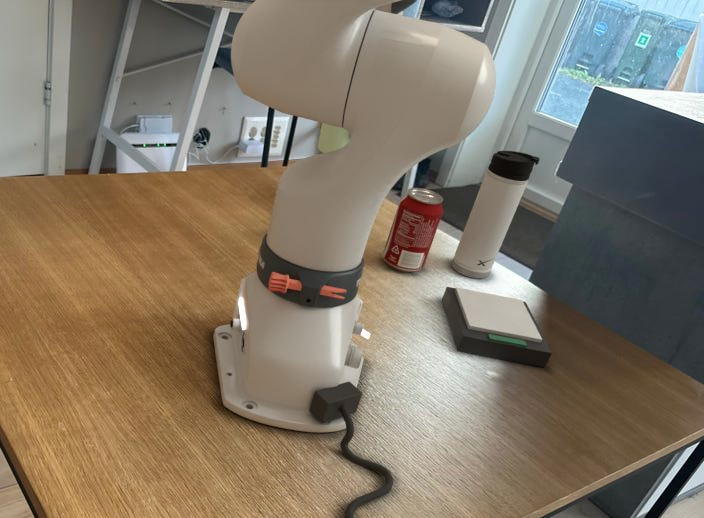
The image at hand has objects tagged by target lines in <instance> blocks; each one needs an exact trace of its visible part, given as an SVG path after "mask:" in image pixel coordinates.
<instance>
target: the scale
mask: <svg viewBox="0 0 704 518" xmlns="http://www.w3.org/2000/svg"><path fill="white" fill-rule="evenodd" d="M441 303H442V306H443V309H444V312H445V313H444V314H445V316H446V318H447V319H446V320H447V322H448V326H449V328H450V329H449V330H450V331H451V334H452V338H453V341H454V345H455V347H456V350H457V352H462V353H468V354H473V355H477V356H484V357H488V358H494V359H499V360H504V361H509V362H514V363H520V364H523V365H524V364H525V365H531V366H536V367H540V368H541V367H542V368H546V366H547V364H548V363H549V360H550V358H551V356H552V354H553V351H552V350H551V348H550V345H549V344H548V342H547V340H546V339H545V336H544V335H543V333H542V331H541V328H540V326H539V325H538V322H537V321H536V319H535V317H534V315H533V314H532V311H531V309H530V308H529V305H528V304H527V302H526V301H523V299H518V298H513V297H509V296H503V295H498V294H493V293H487V292H483V291H477V290H472V289H466V288H463V287H462V288H461V287H450V286H446V287H445V290H444V292H443V295H442V298H441Z"/></svg>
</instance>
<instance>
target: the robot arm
mask: <svg viewBox="0 0 704 518" xmlns="http://www.w3.org/2000/svg"><path fill="white" fill-rule="evenodd" d="M417 1H418V0H254V2H252V3H251V4H250V5H249V7H247V9H246V10H245V11H244V13H243V14H242V16H241V17H240V18H239V21H238V22H237V24H236V26H235V29H234V32H233V36H232V41H231V46H230V63H231V69H232V72H233V76H234V80H235V82H236V85H237V86H238V88H239V90H240V91H241V93H242V94H243V95H245V96H246V97H248V98H251V100H252V99H253V100H254V101H256V102H258V103H260V104H262V105H265V106H266V107H269V108H271V109H272V110H275V111H277V112H279V113H282V114H285V115H289V116H293V117H297V118H301V119H306V120H310V121H314V122H317V126H316V127H317V129H320V130H321V126H322V123H325V124H329V125H333V126H337V127H341V128H343V129H345V130H348V131H349V132H350V134H349V138H350V141H349V143H348V144H346V145H345V146H344V147H342V148H340V149H338V150H335V151H331V152H327V153H323V152H321V153H318V154H317V153H316V154H313V155H310V156H306V157H304V158H302V159H299V160H296V161H295V162H294V163H292V164H291V165H289V166H288V167H287V168H286V169H285V170H284V172H283V173H282V174H281V175H280V178H279V180H278V182H277V186H276V192H275V194H274V195H275V196H274V201H273V205H272V209H271V215H270V219H269V224H268V228H267V233H266V234H265V235H263V238H262V239H261V244H260V246H259V247H258V252H257V262H256V269H254V270H253V271H252V272H250V273H249V274H248V275H246V276H244V277H242V278H241V280H240V283H239V288H238V292H237V297H236V302H235V306H234V310H233V314H232V319H231V320H230V323H229V324H223V325H218V326H217V327H216V328H215V329H214V332H213V335H212V337H213V339H212V340H213V344H214V353H215V358H216V359H215V360H216V366H217V374H218V381H219V388H220V395H221V402H222V404H223V406H224V407H225V408H227V410H230V412H233V413H234V414H237V415H239V416H241V417H243V418H246V419H248V420H251V421H254V422H256V423H260V424H263V425H268V426H272V427H277V428H280V429H286V430H291V431H298V432H306V433H334V432H339V431H343V430H346V431H345V434H344V436H343V437H342V439H341V441H340V444H339V447H340V450H341V452H342V454H343V456H344V457H345V458H346V459H348V460H349V461H351V462H352V463H354V464H356V465H359V466H361V467H364V468H367V469H368V470H370V471H374V472H375V473H378V474H380V475H381V476H383V478H384V484H383V485H382V486H381V487H379V488H378V489H375V490H373V491H371V492H368V493H366V494H362V495H361V496H358V497H356V498H354V499H353V500H351V501H350V502H349V503H348V505H347V506H346V508H345V510H344V518H355V517H354V515H355V511H356V510H357V509H358V508H359V507H361V506H363V505H365V504H367V503H369V502H373V501H375V500H377V499H379V498H382V497H384V496H385V495H387V494H388V493H390V491H391V490H392V488H393V485H394V478H393V475H392V473H391V471H390V470H389V469H388V468H387V467H385V466H383V465H382V464H379V463H377V462H374V461H370V460H367V459H364V458H362V457H359V456H358V455H356V454H355V453H353V452H352V451H351V450H350V448H349V444H350V442H351V441H352V440H353V437H354V434H355V427H354V422H353V419H352V416H351V415H353V414H356V413H357V411H358V408H359V405H360V402H361V399H362V396H363V392H362V391H361V390H360V389H359V388H358V386H359V385H358V384H359V381H360V377H361V372H362V370H363V369H362V368H363V364H364V359H365V358H364V356H363V355H364V349H362V348H359V347H358V345H357V344H355V343H351V342H352V339H353V335H357V336H358V335H359V336H362V337H364V338H365V339H366V340H368V339H370V336H371V333H370V332H368V331H366V330H365V329H364V326H365V325H364V323H362V322H359V321H358V320H359V317H360V314H361V310H362V307H363V304H364V302H363V300H362V299H361V297H360V296H359V295H358V292H359V287H360V284H361V282H362V278H363V274H364V266H365V257H364V253H365V251H366V247H367V244H368V241H369V239H370V235H371V232H372V230H373V227H374V224H375V221H376V219H377V216H378V215H379V214H378V213H379V212H380V210H381V207H382V205H383V203H384V201H385V199H386V198H387V196H388V195H389V193H390V192H391V190H392V189H393V187H395V184H397V183H398V182H399V180H400V179H401V178H402V177H403V176H404V175H406V173H407V172H409V171H410V170H411V169H412V168H414V167H415V166H416V165H418V164H420V162H422V161H424V160H425V159H427V158H428V157H430V156H432V155H434V154H436V153H438V152H441V151H443V150H446V149H449V148H451V147H454V146H455V145H458V144H459V143H461V142H463V141H464V140H466V139H467V138H468V137H470V136H471V134H473V133H474V132H475V131H476V130H477V129H478V127H479V126H480V125H481V123H482V122H483V121H484V119H485V118H486V117H487V114H488V113H489V110H490V108H491V107H492V103H493V100H494V97H495V92H496V85H497V72H496V65H495V61H494V58H493V56H492V53H491V51H490V49H489V47H488V45H487V44H485V43H484V42H482V41H479V40H478V39H476V38H474V37H471V36H469V35H467V34H466V33H463V32H461V31H459V30H457V29H454V28H452V27H450V26H447V25H446V24H442V23H438V22H433V21H429V20H424V19H419V18H415V17H411V16H407V15H404V11H405V10H406V9H409V7H411V6H412V5H414V4H415V3H416V2H417Z"/></svg>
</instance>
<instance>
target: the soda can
mask: <svg viewBox="0 0 704 518" xmlns="http://www.w3.org/2000/svg"><path fill="white" fill-rule="evenodd" d="M443 201H444V198H443V196H442V195H440V194H439V193H437V192H435V191H432V190H430V189H426V188H420V187H411V188H408V189H407V191H406V194H405V195H403V196H402V197H401V199H400V200H399V202H398V205H397V208H396V212H395V215H394V218H393V221H392V224H391V227H390V231H389V233H388V237H387V240H386V243H385V246H384V250H383V253H382V259H383V261H384V262H385V263H387V265H388V266H389V267H391V268H393V269H395V270H397V271H399V272H400V271H401V272H404V273H412V272H418V271H421V270H423V268H424V267H425V264H426V261H427V258H428V255H429V253H430V250H431V248H432V245H433V242H434V239H435V236H436V234H437V230H438V228H439V225H440V222H441V221H442V220H441V219H442V216H443V214H444V208H443V204H442V203H443Z"/></svg>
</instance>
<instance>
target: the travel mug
mask: <svg viewBox="0 0 704 518" xmlns="http://www.w3.org/2000/svg"><path fill="white" fill-rule="evenodd" d="M539 163H540V157H538V156H534V155H531V154H528V153H525V152H521V151H514V150H498V151H497V152H494V153H493V155H492V157H491V159H490V163H489V164H488V167H487V168H486V172H485V174H484V176H483V179H482V182H481V185H480V187H479V190H478V192H477V196H476V197H475V200H474V203H473V206H472V208H471V210H470V214H469V216H468V219H467V220H466V221H467V222H466V224H465V227H464V229H463V232H462V235H461V237H460V240H459V242H458V245H457V248H456V250H455V252H454V256H453V258H452V260H451V267H452V269H454V271H456V272H457V273H459V274H461V275H463V276H465V277H468V278H472V279H485V278H487V277H489V275H490V273H491V271H492V268H493V266H494V264H495V261H496V259H497V258H498V257H497V256H498V254H499V252H500V249H501V247H502V245H503V242H504V240H505V238H506V235H507V233H508V231H509V229H510V225H511V223H512V222H513V221H512V220H513V218H514V216H515V213H516V211H517V208H518V207H519V204H520V202H521V199H522V197H523V194H524V192H525V190H526V187H527V185H528V182H529V180H530V177H531V174H532V172H533V169H534V166H535V165H536V166H537V165H538V164H539Z"/></svg>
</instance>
